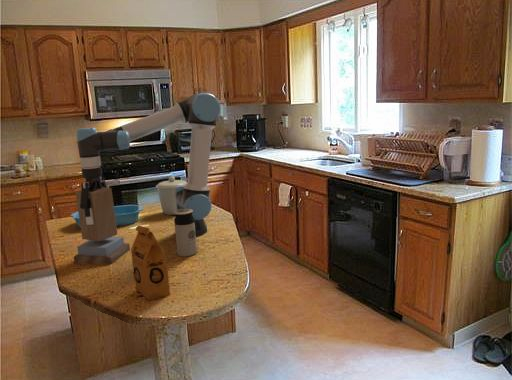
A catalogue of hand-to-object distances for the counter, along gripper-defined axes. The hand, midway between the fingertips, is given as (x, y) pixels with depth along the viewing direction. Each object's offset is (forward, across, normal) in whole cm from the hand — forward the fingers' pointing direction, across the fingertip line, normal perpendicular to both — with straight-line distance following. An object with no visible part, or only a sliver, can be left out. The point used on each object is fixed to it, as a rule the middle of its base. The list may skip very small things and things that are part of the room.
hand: (98, 219), depth 171 cm
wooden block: (+8, 0, 0) cm, 8 cm away
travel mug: (+16, -4, +35) cm, 39 cm away
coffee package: (+16, +32, +35) cm, 50 cm away
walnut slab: (+16, 0, 0) cm, 16 cm away
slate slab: (+13, 0, 0) cm, 13 cm away
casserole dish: (+16, -49, -23) cm, 57 cm away
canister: (+16, -68, +7) cm, 70 cm away
